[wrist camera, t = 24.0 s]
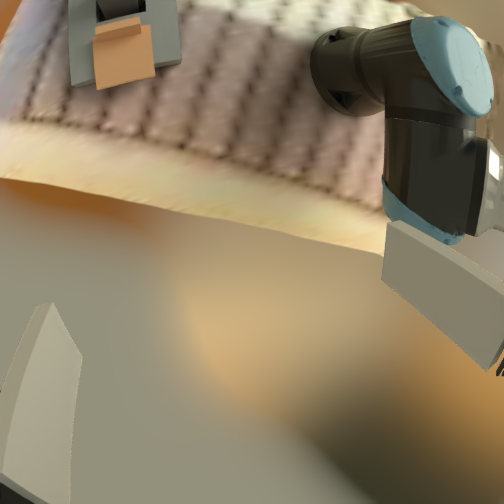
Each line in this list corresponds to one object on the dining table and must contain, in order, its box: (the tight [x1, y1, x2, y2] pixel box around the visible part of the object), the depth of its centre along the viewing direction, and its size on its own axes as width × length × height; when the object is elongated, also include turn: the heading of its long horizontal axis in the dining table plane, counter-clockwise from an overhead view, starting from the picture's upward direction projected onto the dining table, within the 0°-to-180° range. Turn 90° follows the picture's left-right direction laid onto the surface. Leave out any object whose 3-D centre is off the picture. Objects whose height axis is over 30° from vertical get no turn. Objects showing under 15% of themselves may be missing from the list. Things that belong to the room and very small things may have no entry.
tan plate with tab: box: [92, 16, 155, 91], centre depth 25 cm, size 7×7×4 cm
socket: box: [68, 0, 182, 88], centre depth 25 cm, size 14×18×3 cm
